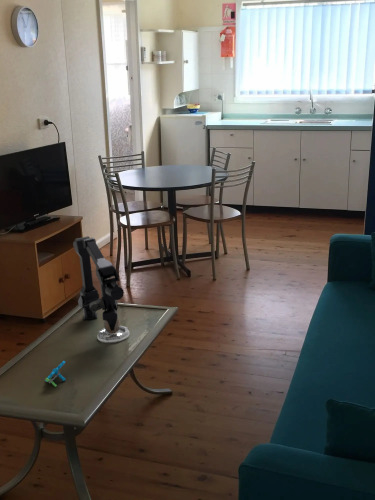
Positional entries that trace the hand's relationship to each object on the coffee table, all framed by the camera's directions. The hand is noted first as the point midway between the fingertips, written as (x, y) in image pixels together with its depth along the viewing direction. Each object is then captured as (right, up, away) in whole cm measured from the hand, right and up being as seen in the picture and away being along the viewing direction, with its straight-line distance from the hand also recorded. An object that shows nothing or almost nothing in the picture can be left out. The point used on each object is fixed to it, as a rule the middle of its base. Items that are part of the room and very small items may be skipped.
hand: (112, 327), depth 249 cm
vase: (0, -2, +1) cm, 2 cm away
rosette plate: (0, -4, +1) cm, 4 cm away
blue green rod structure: (-17, -16, -34) cm, 41 cm away
